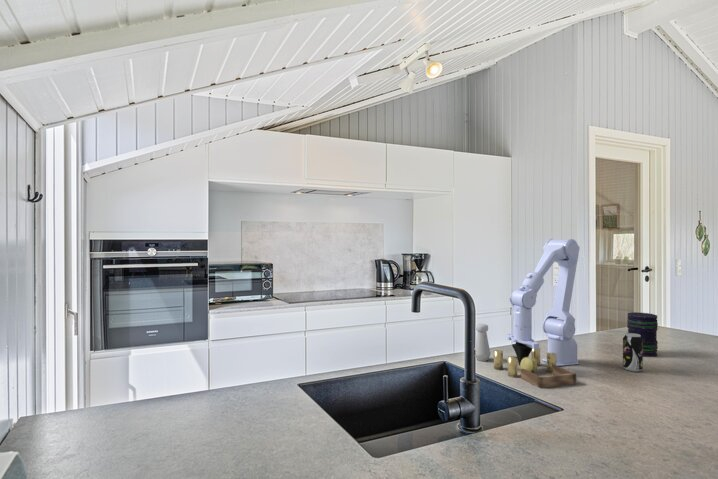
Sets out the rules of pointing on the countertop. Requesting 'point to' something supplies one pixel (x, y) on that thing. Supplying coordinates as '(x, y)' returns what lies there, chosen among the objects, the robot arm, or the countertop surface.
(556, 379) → the corral
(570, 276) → the robot arm
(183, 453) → the countertop surface
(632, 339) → the beverage can
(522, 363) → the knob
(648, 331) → the storage jar
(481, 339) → the salt shaker
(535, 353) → the spacer field
